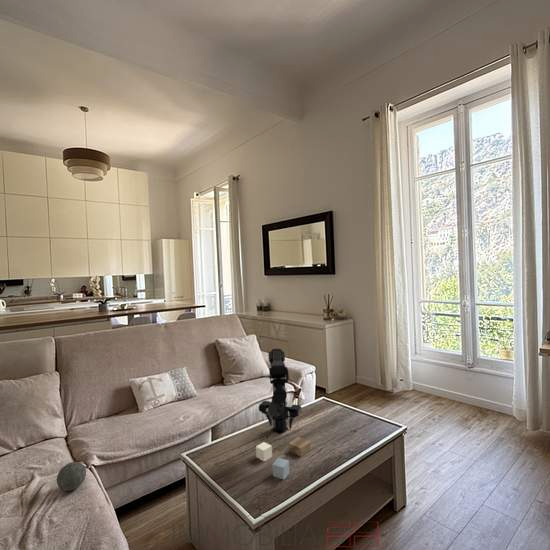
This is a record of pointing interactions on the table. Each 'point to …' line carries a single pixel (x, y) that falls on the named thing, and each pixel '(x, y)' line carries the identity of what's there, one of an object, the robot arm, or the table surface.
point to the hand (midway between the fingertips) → (280, 427)
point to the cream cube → (264, 451)
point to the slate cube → (280, 468)
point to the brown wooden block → (299, 446)
